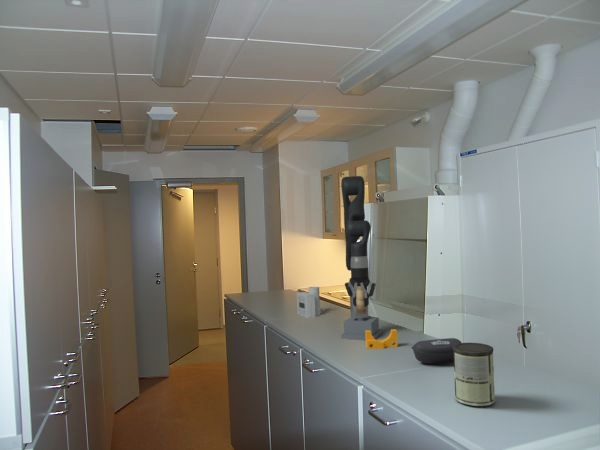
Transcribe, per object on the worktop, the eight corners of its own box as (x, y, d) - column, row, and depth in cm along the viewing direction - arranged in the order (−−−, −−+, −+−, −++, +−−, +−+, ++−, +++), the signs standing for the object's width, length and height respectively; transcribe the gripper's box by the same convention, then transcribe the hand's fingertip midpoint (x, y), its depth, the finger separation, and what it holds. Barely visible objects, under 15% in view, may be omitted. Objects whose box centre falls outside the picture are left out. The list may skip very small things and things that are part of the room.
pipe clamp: (367, 349, 186) (366, 332, 186) (365, 346, 190) (365, 330, 190) (398, 348, 186) (397, 331, 186) (396, 345, 190) (395, 329, 190)
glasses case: (421, 369, 159) (420, 345, 159) (407, 360, 169) (406, 338, 169) (470, 363, 163) (469, 340, 163) (453, 355, 173) (452, 333, 173)
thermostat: (297, 315, 262) (296, 287, 262) (320, 312, 268) (319, 285, 268) (307, 318, 251) (306, 289, 251) (331, 315, 257) (330, 287, 257)
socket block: (351, 330, 218) (351, 315, 218) (382, 332, 213) (381, 316, 213) (341, 338, 205) (340, 321, 205) (373, 340, 199) (372, 323, 199)
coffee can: (449, 393, 135) (447, 343, 135) (485, 391, 135) (483, 341, 135) (462, 407, 125) (460, 352, 125) (502, 405, 125) (500, 351, 125)
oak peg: (358, 312, 211) (357, 285, 211) (366, 313, 210) (366, 285, 210) (355, 314, 208) (354, 286, 208) (364, 314, 206) (363, 286, 206)
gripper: (377, 265, 209) (379, 305, 209) (346, 265, 215) (347, 304, 215) (373, 267, 203) (374, 308, 202) (341, 267, 208) (342, 307, 208)
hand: (360, 306), depth 209 cm, fingers closed on oak peg, 4 cm apart
